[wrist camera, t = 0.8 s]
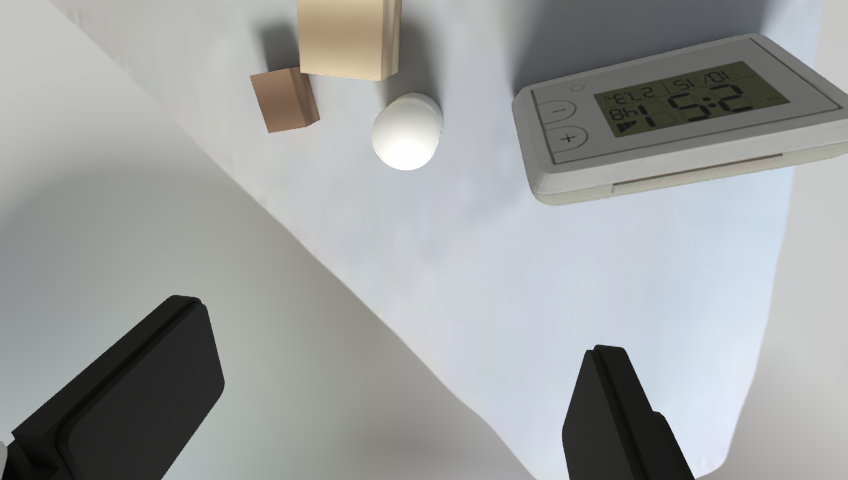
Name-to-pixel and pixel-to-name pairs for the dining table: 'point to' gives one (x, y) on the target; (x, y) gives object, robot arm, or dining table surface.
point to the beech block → (349, 37)
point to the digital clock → (677, 120)
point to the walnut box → (285, 99)
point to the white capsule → (408, 131)
